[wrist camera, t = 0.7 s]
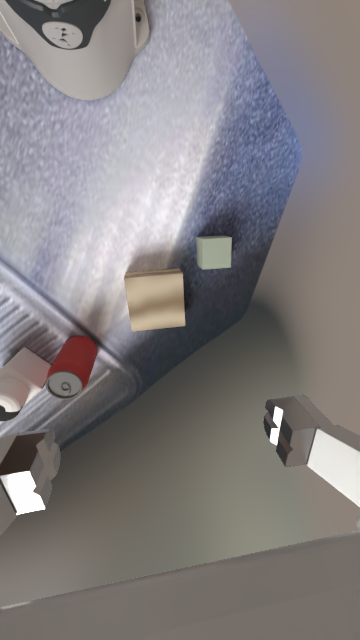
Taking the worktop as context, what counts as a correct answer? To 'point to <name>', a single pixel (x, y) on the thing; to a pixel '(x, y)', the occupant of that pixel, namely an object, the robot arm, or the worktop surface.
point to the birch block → (155, 299)
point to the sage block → (214, 252)
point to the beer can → (71, 368)
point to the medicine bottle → (21, 382)
